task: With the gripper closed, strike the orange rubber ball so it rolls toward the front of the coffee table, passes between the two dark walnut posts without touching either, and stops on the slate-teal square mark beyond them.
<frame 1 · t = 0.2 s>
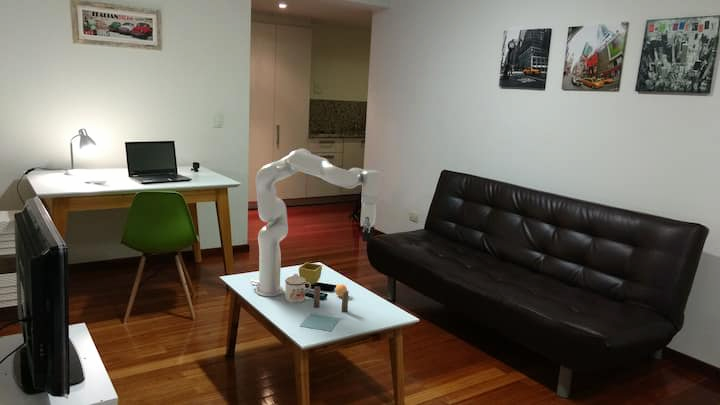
hand: (368, 238, 240), 31 cm above the table, tool pointing down, fingers open, 9 cm apart
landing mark: (320, 322, 227), on the table
left post: (316, 307, 241), on the table
ball: (341, 290, 255), on the table
flower pot: (309, 284, 268), on the table
right post: (344, 311, 239), on the table
teacup with lid: (298, 299, 250), on the table
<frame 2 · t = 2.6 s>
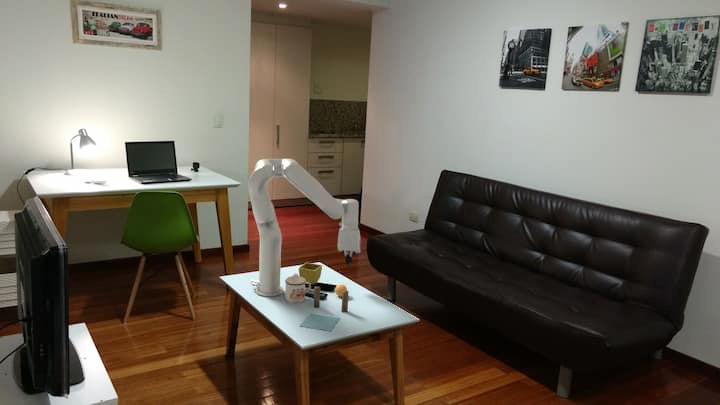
hand: (348, 263, 262), 12 cm above the table, tool pointing down, fingers closed
nothing on the table moved.
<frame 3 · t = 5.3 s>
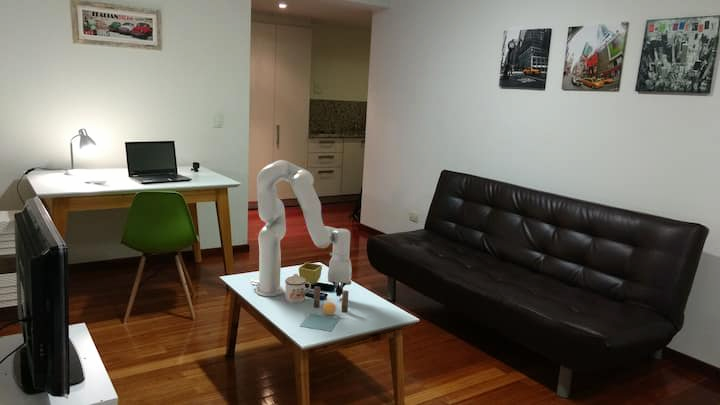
hand: (339, 295, 252), 2 cm above the table, tool pointing down, fingers closed
ball: (329, 308, 234), on the table
everything else where it was.
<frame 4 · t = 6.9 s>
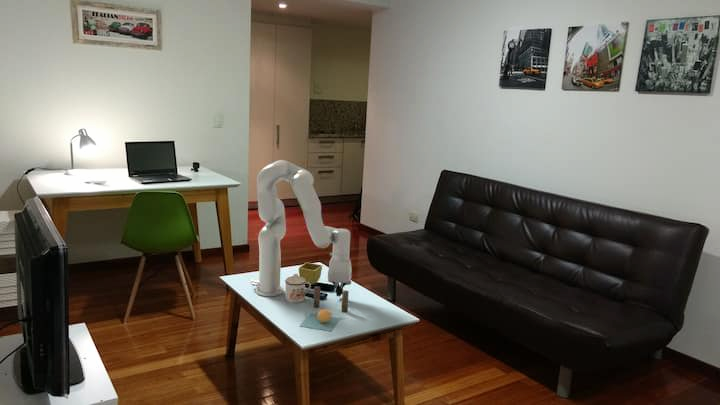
hand: (339, 295, 252), 2 cm above the table, tool pointing down, fingers closed
ball: (324, 316, 226), on the table
everything else where it was.
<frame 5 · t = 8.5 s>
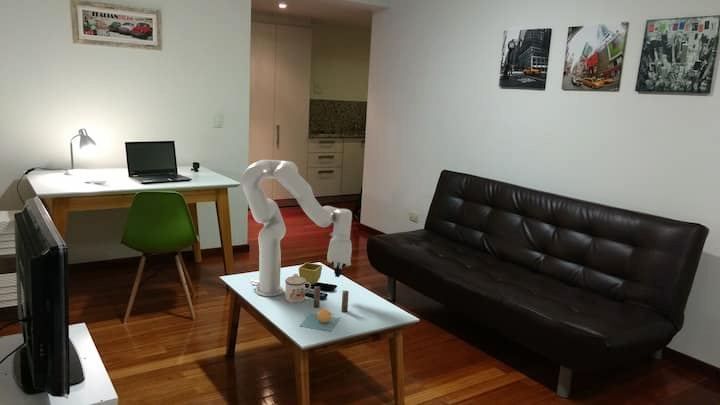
hand: (337, 276, 250), 11 cm above the table, tool pointing down, fingers closed
nothing on the table moved.
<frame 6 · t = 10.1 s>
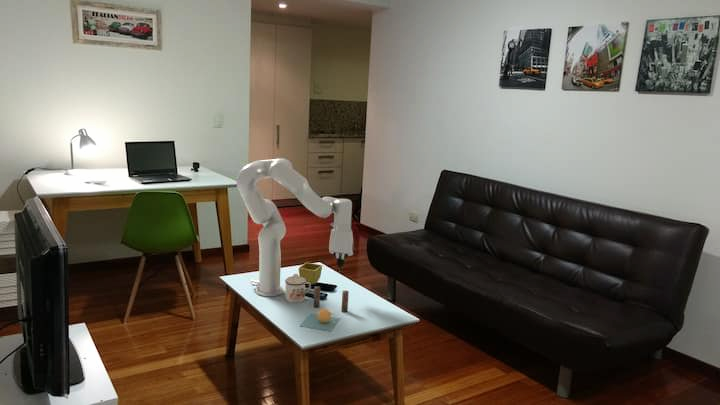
hand: (340, 266, 249), 15 cm above the table, tool pointing down, fingers closed
nothing on the table moved.
at the end: ball 1.6 cm from the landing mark (horizontally); ball never touched left post; ball never touched right post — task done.
